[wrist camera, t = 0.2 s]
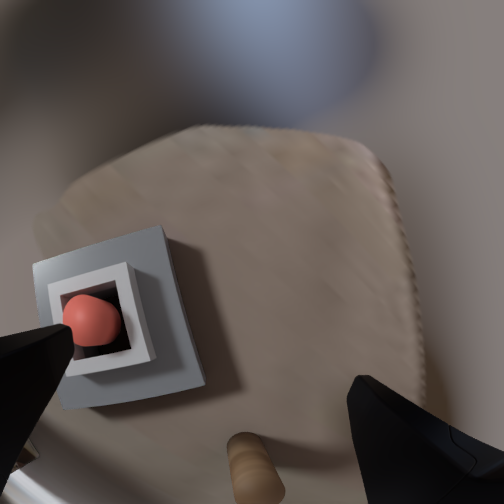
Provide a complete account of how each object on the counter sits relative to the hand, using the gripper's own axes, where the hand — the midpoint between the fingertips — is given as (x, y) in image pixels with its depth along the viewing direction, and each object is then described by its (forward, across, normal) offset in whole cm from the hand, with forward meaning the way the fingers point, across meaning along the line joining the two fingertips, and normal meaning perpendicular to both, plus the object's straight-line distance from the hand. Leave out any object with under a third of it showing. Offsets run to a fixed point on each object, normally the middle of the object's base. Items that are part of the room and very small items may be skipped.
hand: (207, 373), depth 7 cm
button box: (+12, +9, +7) cm, 17 cm away
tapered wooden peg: (+9, -3, +15) cm, 17 cm away
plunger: (+9, +8, +5) cm, 14 cm away
